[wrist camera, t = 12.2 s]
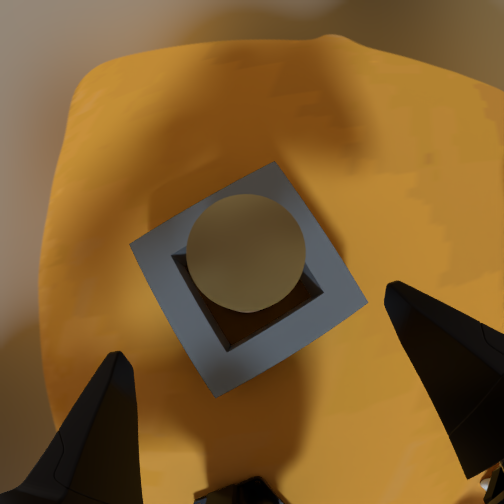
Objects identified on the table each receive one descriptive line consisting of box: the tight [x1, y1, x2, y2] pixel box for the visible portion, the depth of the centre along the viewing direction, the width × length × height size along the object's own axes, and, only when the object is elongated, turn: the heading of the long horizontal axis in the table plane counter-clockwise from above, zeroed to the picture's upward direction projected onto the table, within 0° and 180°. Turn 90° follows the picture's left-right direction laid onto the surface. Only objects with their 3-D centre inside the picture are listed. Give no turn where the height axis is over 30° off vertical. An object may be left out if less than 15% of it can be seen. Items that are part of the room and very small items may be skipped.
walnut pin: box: [186, 194, 306, 313], centre depth 16 cm, size 4×4×11 cm
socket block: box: [129, 161, 368, 398], centre depth 20 cm, size 11×11×4 cm
